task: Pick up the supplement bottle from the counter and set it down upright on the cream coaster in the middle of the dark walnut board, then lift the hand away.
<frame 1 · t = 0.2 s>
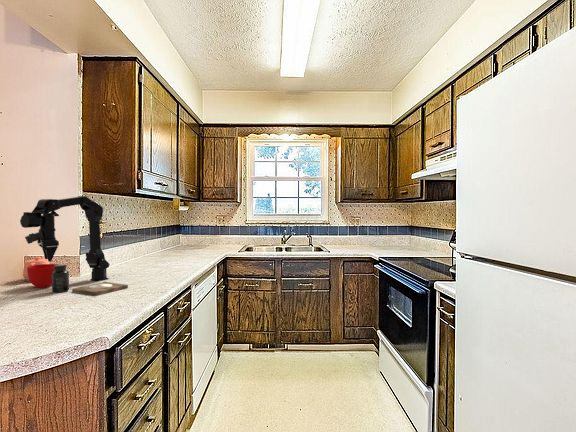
hand: (48, 260, 173), 14 cm above the countertop, fingers open, 9 cm apart
supplement bottle: (60, 291, 173), on the countertop
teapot: (38, 279, 200), on the countertop
ceramic cup: (42, 286, 184), on the countertop
walnut board: (100, 289, 175), on the countertop
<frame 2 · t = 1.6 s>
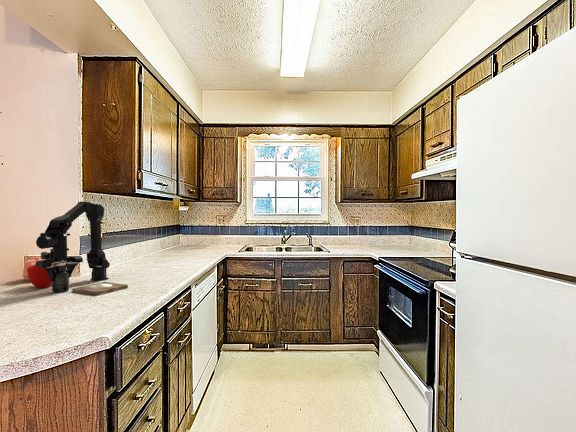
hand: (60, 280, 172), 5 cm above the countertop, fingers closed on supplement bottle, 7 cm apart
supplement bottle: (60, 291, 173), on the countertop, touching gripper
everything else where it was.
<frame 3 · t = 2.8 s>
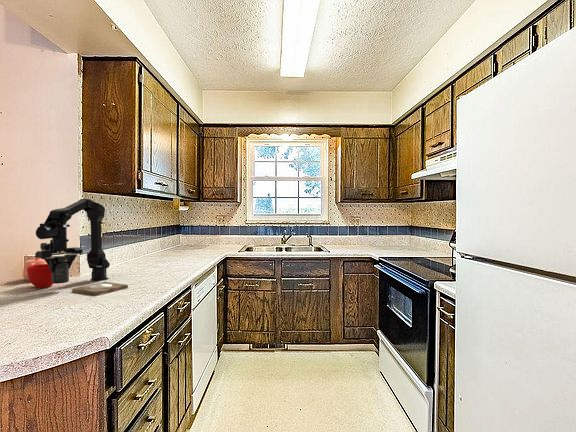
hand: (60, 271, 172), 9 cm above the countertop, fingers closed on supplement bottle, 7 cm apart
supplement bottle: (60, 282, 172), point 4 cm above the countertop, touching gripper
everything else where it was.
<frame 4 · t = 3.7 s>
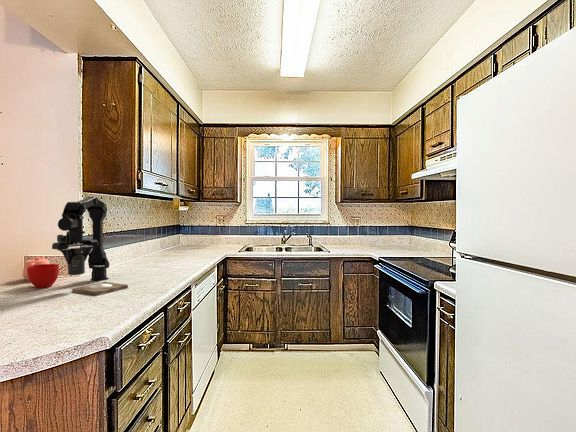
hand: (76, 263, 173), 13 cm above the countertop, fingers closed on supplement bottle, 7 cm apart
supplement bottle: (76, 274, 173), point 8 cm above the countertop, touching gripper
everything else where it was.
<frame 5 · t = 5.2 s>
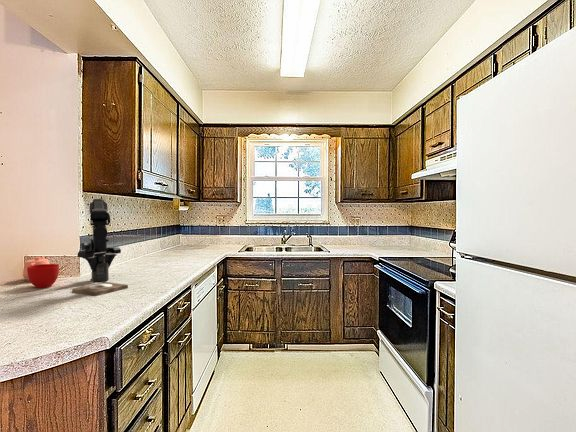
hand: (100, 270, 175), 9 cm above the countertop, fingers closed on supplement bottle, 7 cm apart
supplement bottle: (100, 281, 175), point 4 cm above the countertop, touching gripper
everything else where it was.
when the fingers open (8 cm above the countertop, at t = 6.0 s): supplement bottle stays where it is, resting on walnut board.
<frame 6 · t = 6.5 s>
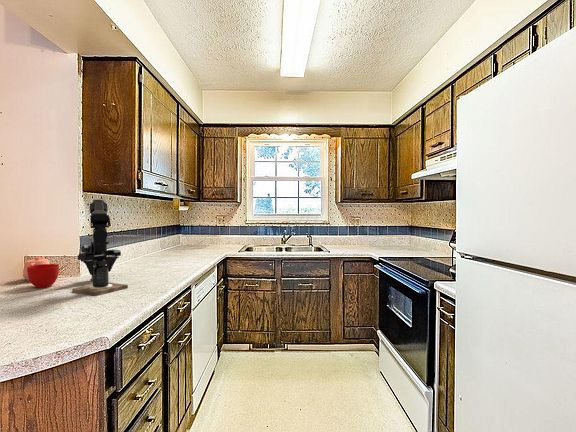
hand: (100, 273, 175), 8 cm above the countertop, fingers open, 9 cm apart
supplement bottle: (100, 286, 175), point 2 cm above the countertop, touching walnut board
everything else where it was.
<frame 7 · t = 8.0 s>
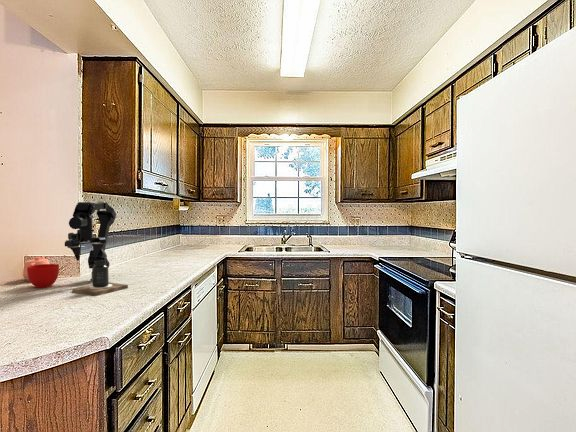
hand: (86, 259, 185), 13 cm above the countertop, fingers open, 9 cm apart
nothing on the countertop moved.
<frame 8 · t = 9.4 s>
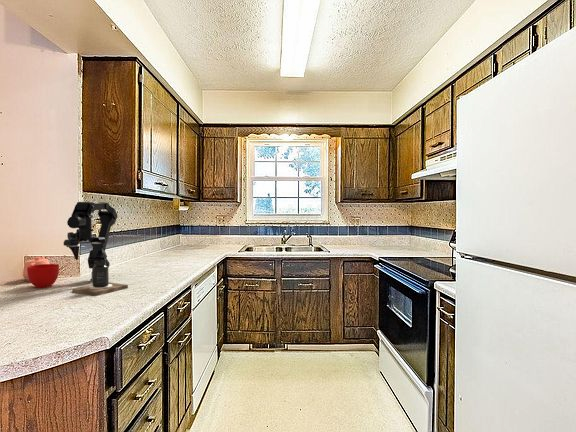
hand: (85, 258, 186), 13 cm above the countertop, fingers open, 9 cm apart
nothing on the countertop moved.
at the end: supplement bottle inside the target area on the walnut board (0.1 cm from its centre), point 1.6 cm above the walnut board's base; supplement bottle tilted 0°; the gripper is holding nothing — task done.
